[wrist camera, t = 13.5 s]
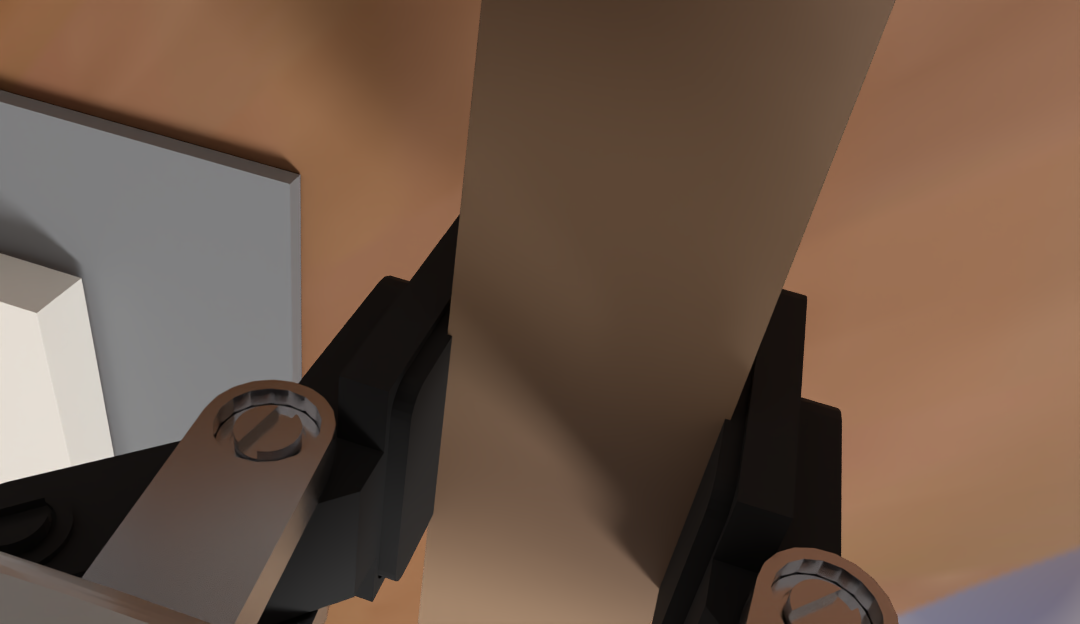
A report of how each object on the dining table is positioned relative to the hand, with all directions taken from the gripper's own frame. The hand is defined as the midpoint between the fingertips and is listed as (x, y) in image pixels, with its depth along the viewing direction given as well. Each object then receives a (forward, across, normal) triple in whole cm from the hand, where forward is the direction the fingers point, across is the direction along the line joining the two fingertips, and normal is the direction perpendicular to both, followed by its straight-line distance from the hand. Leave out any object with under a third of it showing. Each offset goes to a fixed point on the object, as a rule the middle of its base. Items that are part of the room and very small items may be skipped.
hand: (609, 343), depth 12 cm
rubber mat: (+11, +19, +14) cm, 26 cm away
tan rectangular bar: (+1, 0, 0) cm, 1 cm away
